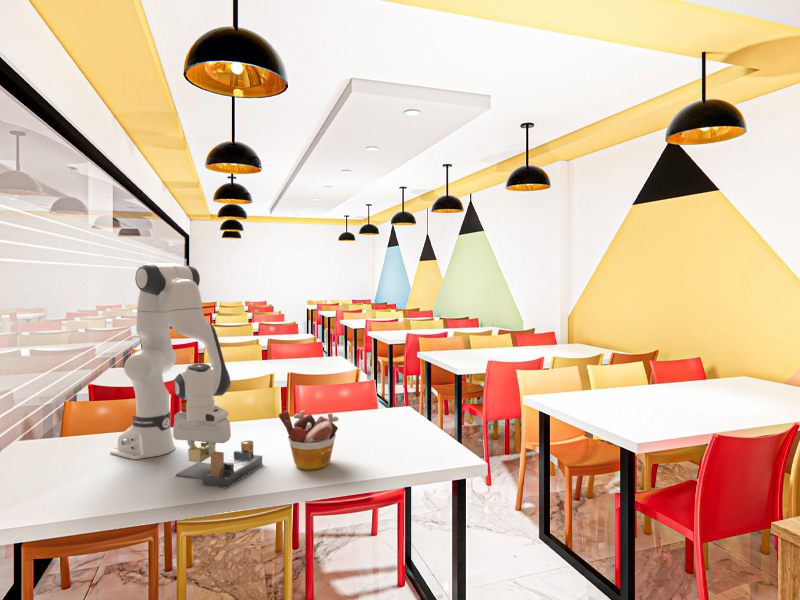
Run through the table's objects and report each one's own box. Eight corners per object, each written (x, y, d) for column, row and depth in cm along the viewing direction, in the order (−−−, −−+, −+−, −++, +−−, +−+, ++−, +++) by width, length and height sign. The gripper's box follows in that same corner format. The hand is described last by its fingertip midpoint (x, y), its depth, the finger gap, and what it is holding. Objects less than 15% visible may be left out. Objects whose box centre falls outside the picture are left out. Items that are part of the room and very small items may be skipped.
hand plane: (227, 488, 152) (226, 456, 151) (202, 484, 154) (201, 453, 154) (262, 464, 171) (261, 436, 171) (239, 461, 173) (239, 433, 173)
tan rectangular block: (200, 462, 160) (199, 447, 160) (188, 461, 162) (188, 446, 161) (215, 453, 168) (215, 439, 168) (204, 452, 169) (203, 439, 169)
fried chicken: (332, 453, 182) (332, 399, 181) (345, 469, 167) (344, 411, 166) (277, 461, 174) (276, 405, 173) (285, 478, 159) (284, 417, 158)
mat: (175, 476, 161) (175, 474, 161) (198, 463, 172) (197, 462, 172) (204, 479, 158) (204, 477, 158) (225, 467, 169) (225, 465, 169)
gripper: (167, 413, 164) (169, 454, 164) (221, 417, 159) (222, 459, 159) (180, 408, 170) (182, 448, 170) (232, 411, 165) (234, 452, 165)
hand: (202, 453), depth 165 cm, fingers closed on tan rectangular block, 4 cm apart
